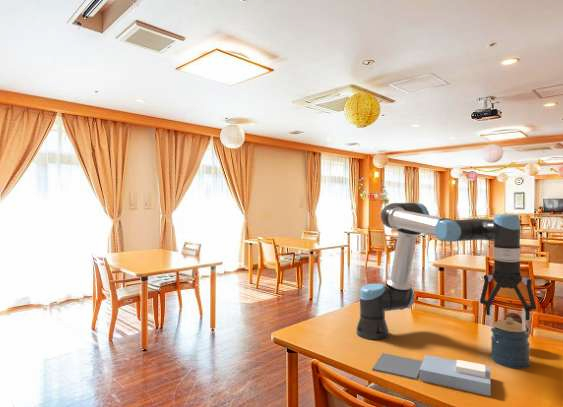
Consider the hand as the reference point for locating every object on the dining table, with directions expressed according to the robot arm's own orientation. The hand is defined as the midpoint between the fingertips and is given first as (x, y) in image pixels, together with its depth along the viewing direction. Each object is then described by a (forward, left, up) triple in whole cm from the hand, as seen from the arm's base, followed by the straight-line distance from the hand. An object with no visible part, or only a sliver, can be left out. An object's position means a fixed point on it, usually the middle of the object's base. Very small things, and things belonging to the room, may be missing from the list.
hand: (507, 327), depth 122 cm
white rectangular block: (-11, 0, -17) cm, 21 cm away
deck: (-16, 0, -21) cm, 27 cm away
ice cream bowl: (+4, +42, -22) cm, 47 cm away
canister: (+2, +26, -22) cm, 34 cm away
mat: (-36, +1, -21) cm, 42 cm away
